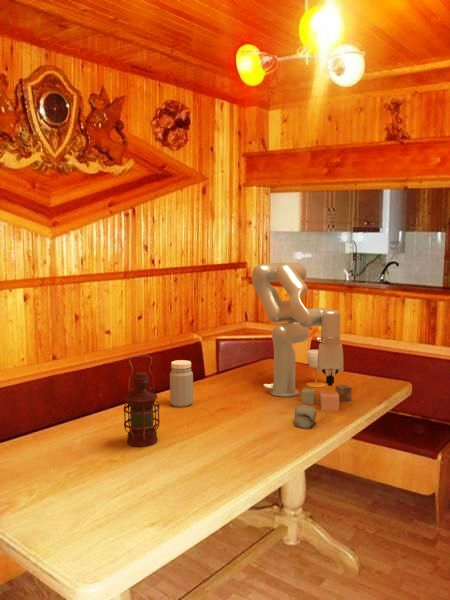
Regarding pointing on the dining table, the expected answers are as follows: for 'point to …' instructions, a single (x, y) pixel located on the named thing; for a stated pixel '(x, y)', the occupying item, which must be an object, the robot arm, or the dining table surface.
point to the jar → (181, 383)
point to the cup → (314, 367)
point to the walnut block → (344, 392)
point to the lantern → (141, 411)
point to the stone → (304, 416)
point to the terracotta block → (329, 401)
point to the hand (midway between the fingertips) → (330, 385)
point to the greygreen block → (308, 396)
